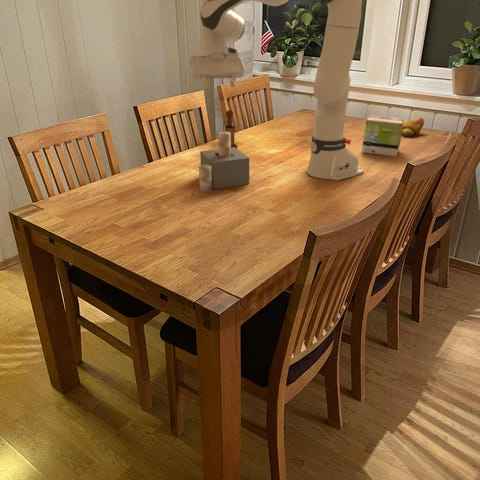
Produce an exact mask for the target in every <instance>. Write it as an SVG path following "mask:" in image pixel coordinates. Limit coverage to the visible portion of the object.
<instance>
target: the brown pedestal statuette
mask: <svg viewBox="0 0 480 480" xmlns="http://www.w3.org/2000/svg"><path fill="white" fill-rule="evenodd" d="M225 115H226V117H227V120H226V121H227V125H226V126H225V132H230V133H231V148H232V147H235V148H237V149H238V146H237V144H236V143H235V125H233V120H232V118H233V116H234V112H233V110H231V109H228V110H227V111H226V113H225Z"/></svg>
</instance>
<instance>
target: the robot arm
mask: <svg viewBox="0 0 480 480" xmlns="http://www.w3.org/2000/svg"><path fill="white" fill-rule="evenodd" d="M289 1H290V0H207V1H206V2H205V3H204V4H203V5H202V6H201V9H200V21H201V24H202V25H201V40H202V44H203V46H204V47H203V55H199V56H197V55H194V56H192V57H191V58H190V59H189V64H190V66H191V77H192V79H193V80H201V82H202V83H203V84H204V86H205V88H206V89H210V88H211V83H210V81H208V80H215V79H220V80H221V79H231V80H230V83H229V86H230V88H235V85H236V81H237V79H240V78H241V79H242V78H244V76H245V74H246V73H245V72H246V68H245V64H244V61H243V59H242V57H241V56H240V51H239V49H237V48H234V47H230V46H229V45H231V44H233V43H235V42H237V41H238V40H240V39H241V38H242V37H243V35H244V32H245V29H246V23H245V20H244V18H243V17H242V16H240V15H239V14H238V13H236V12H235V11H233V10H234V9H235V8H237V7H238V6H240V5H242V4H243V3H245V2H257V3H262V4H264V5H267V6H272V7H279V6H282V5H284V4H286V3H287V2H289ZM315 1H316V2H318V3H321V4H323V5H326V6H327V9H328V11H327V13H328V14H327V20H326V25H325V32H324V38H323V45H322V48H321V54H320V56H319V57H320V58H319V62H318V64H317V68H316V74H315V78H314V84H313V89H312V91H313V95H314V97H315V99H317V101H316V102H317V103H316V108H315V112H314V119H313V131H312V132H313V133H312V136H311V140H310V151H311V152H310V158H309V162H308V165H307V167H306V170H305V171H306V174H308V175H309V176H311V177H314V178H317V179H324V180H326V179H327V180H332V181H340V180H343V179H344V180H345V179H348V178H351V177H355V176H359V175H362V174H364V169H363V167H361V166H360V165H359V158H358V156H357V155H356V154H355V153H354V152H352V151H351V150H350V149H349V148H348V147H347V146H346V145H348V146H349V145H350V144H352V139H350V138H347V137H346V138H345V137H343V135H344V128H345V127H344V126H345V119H346V118H345V116H346V111H347V108H348V100H349V93H350V88H351V87H350V86H351V75H350V71H351V66H352V62H353V58H354V54H355V52H356V48H357V40H358V37H359V32H360V31H359V30H360V25H361V18H362V7H363V6H362V5H363V3H362V2H363V1H362V0H315Z"/></svg>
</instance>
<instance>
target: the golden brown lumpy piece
mask: <svg viewBox="0 0 480 480" xmlns="http://www.w3.org/2000/svg"><path fill="white" fill-rule="evenodd" d="M424 125H425V120H424V118H422V117H418V118H415V119H407V120H404V123H403V128H402V134H401V135H402V136H404V137H412V136H417V135H419V134H420V132H421V130H422V128H423V126H424ZM418 133H419V134H418ZM416 134H417V135H416Z"/></svg>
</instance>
